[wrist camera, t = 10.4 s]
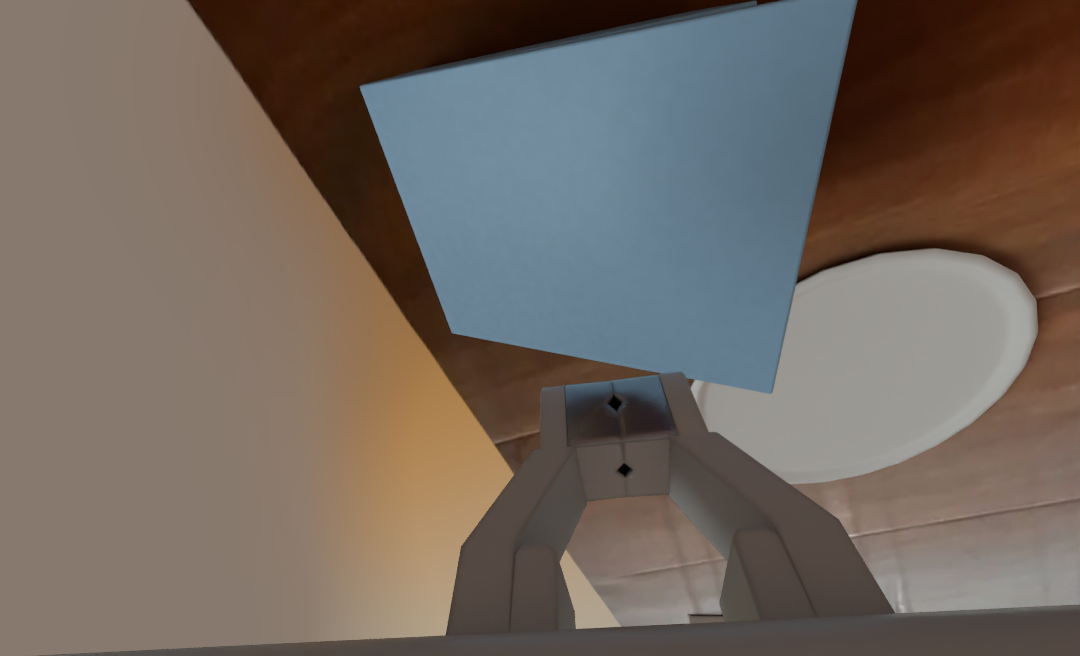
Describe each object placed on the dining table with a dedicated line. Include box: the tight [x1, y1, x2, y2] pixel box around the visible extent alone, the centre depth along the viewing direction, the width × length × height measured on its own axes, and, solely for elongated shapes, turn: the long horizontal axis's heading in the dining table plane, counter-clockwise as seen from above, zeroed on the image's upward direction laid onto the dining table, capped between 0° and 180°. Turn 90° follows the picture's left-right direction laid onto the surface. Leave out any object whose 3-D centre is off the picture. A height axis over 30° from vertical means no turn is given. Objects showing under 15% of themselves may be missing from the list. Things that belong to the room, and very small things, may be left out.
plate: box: [691, 248, 1038, 484], centre depth 38 cm, size 29×29×1 cm
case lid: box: [360, 0, 857, 394], centre depth 17 cm, size 17×13×1 cm
